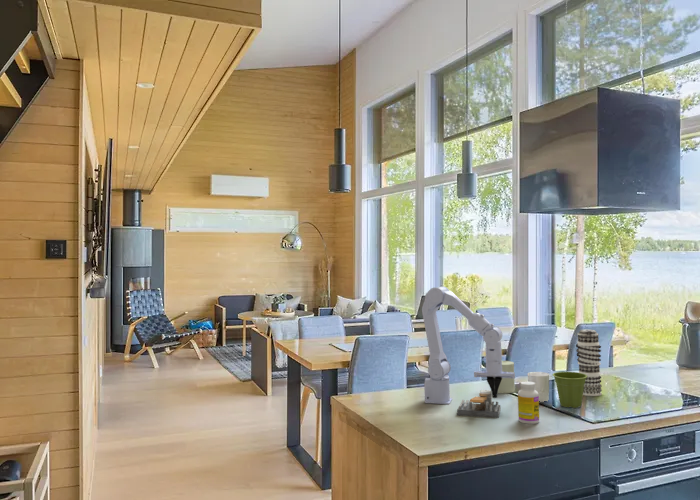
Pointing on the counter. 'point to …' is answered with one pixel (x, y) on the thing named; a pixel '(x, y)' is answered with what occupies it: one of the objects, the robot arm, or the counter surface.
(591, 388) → the decorative candle
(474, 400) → the orange rectangular bar
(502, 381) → the can
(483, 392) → the block
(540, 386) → the white cup
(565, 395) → the plant pot
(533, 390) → the supplement bottle
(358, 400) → the counter surface
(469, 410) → the heatsink block
